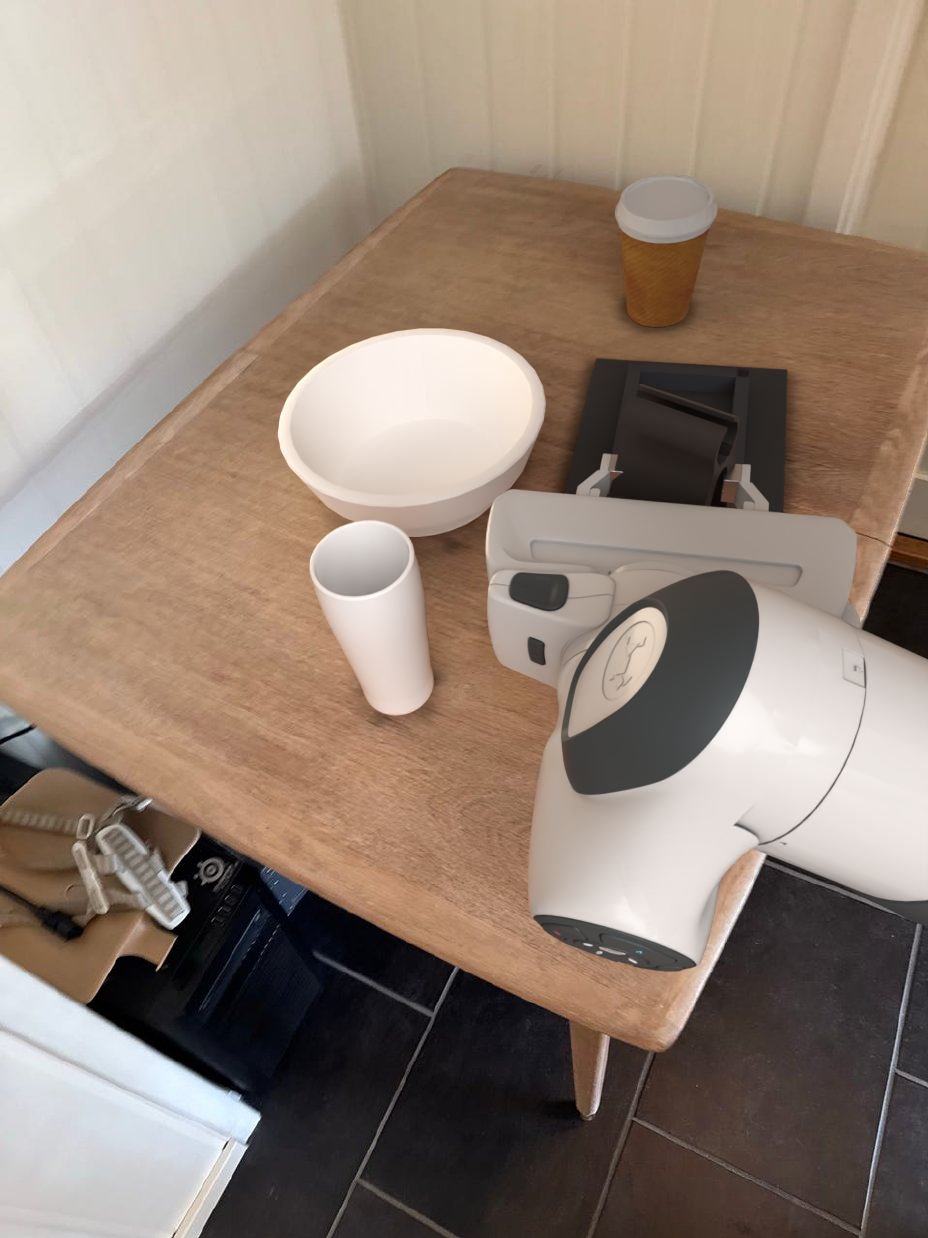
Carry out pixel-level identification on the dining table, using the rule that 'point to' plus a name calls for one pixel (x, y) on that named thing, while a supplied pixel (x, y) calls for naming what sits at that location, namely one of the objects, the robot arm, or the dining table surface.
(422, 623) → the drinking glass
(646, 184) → the disposable coffee cup
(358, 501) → the bowl
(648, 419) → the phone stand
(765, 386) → the dock pad
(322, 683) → the dining table surface
